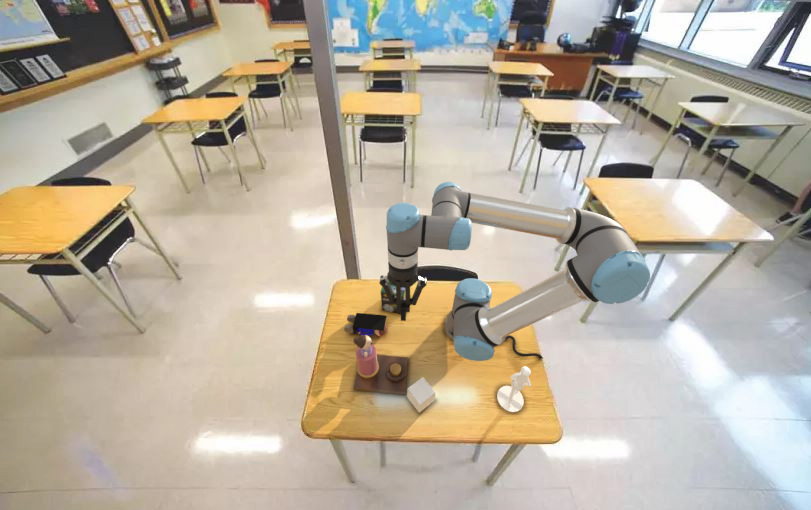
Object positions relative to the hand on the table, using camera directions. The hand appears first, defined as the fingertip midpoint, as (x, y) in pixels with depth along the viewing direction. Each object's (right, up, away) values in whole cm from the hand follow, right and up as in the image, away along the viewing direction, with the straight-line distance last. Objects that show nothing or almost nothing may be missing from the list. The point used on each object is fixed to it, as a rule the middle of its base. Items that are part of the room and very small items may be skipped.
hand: (403, 317), depth 96 cm
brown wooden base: (-7, -21, +8) cm, 23 cm away
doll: (-12, -18, +6) cm, 22 cm away
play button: (-3, -19, +6) cm, 20 cm away
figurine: (+33, -26, +3) cm, 43 cm away
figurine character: (-14, -9, +21) cm, 26 cm away
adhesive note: (+5, -26, +3) cm, 27 cm away
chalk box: (-3, -1, +30) cm, 31 cm away
